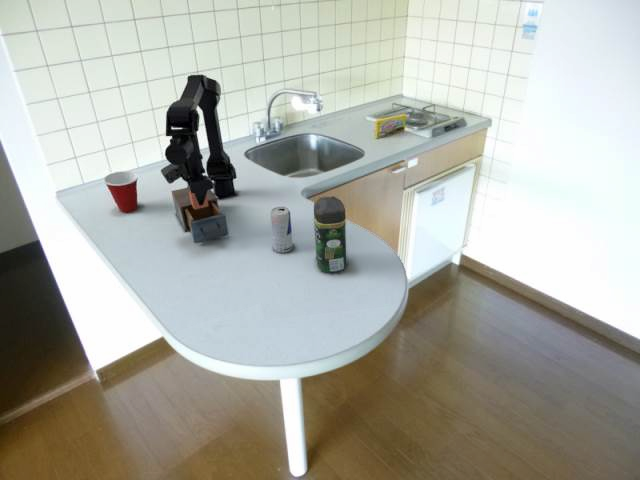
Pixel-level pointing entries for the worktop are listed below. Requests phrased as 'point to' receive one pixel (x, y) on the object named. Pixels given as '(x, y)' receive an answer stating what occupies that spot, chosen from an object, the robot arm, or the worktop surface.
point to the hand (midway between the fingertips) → (199, 202)
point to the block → (195, 202)
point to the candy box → (390, 126)
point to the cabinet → (187, 203)
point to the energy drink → (281, 229)
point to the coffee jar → (330, 234)
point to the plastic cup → (123, 189)
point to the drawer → (206, 222)
